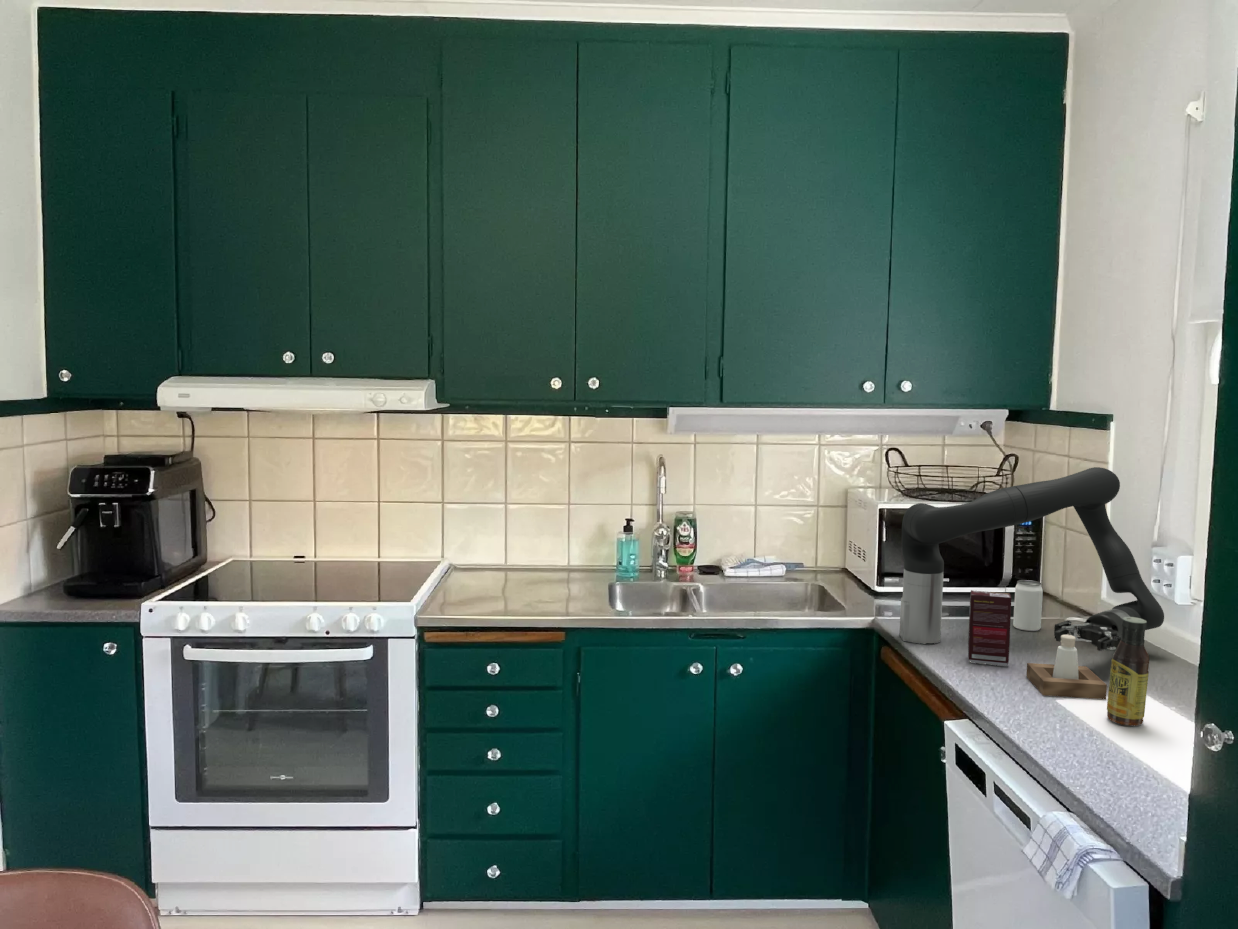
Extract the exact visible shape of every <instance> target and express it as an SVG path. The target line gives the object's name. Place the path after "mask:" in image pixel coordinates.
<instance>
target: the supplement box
mask: <svg viewBox="0 0 1238 929" xmlns="http://www.w3.org/2000/svg"><path fill="white" fill-rule="evenodd" d="M969 597H970V598H969V614H968V615H969V618H968V642H967V644H968V645H967V659H968V662H969V661H971V662H975V663H974V664H976V663H986V664H992V665H991V666H996V665H997V667H1005V668H1006V667H1009V663H1010V643H1011V639H1010V638H1011V619H1012V618H1011V615H1012V596H1011V593H1009V592H997V591H986V590H985V591H983V590H972V589H971V590H970V594H969ZM986 664H985V665H986Z"/></svg>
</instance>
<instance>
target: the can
mask: <svg viewBox="0 0 1238 929" xmlns="http://www.w3.org/2000/svg"><path fill="white" fill-rule="evenodd" d="M1043 591H1044V590H1043V587H1042V583H1041V582H1040V581H1036V580H1029V579H1028V580H1027V579H1021V580H1020V579H1019V580H1017V581H1016V585H1015V590H1014V602H1013V603H1014V605H1013V621H1012V622H1013V623H1012V624H1013V627H1014V628H1015V629H1016V630H1019V631H1025V632H1037V631H1040V629H1041V627H1042V612H1043V611H1042V610H1043Z"/></svg>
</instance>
